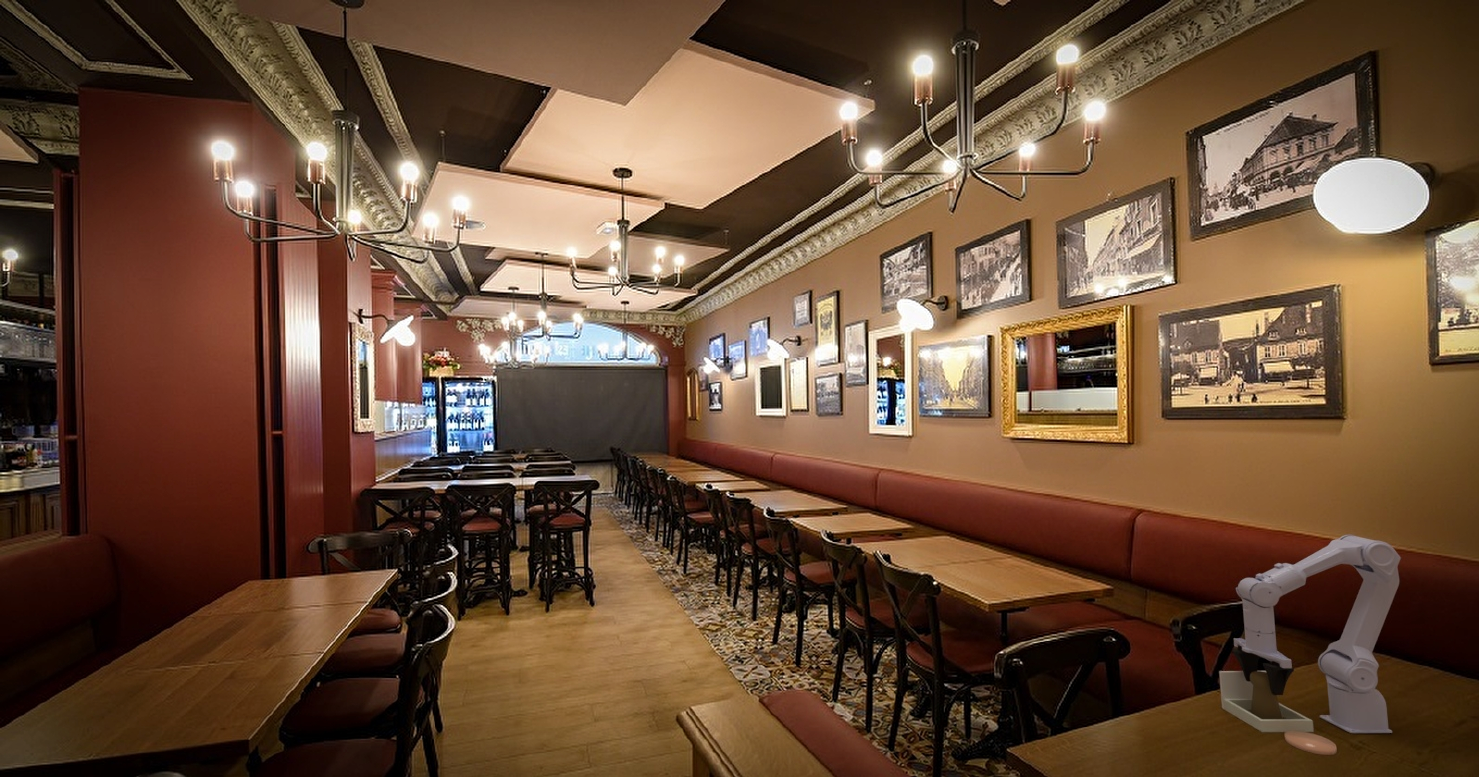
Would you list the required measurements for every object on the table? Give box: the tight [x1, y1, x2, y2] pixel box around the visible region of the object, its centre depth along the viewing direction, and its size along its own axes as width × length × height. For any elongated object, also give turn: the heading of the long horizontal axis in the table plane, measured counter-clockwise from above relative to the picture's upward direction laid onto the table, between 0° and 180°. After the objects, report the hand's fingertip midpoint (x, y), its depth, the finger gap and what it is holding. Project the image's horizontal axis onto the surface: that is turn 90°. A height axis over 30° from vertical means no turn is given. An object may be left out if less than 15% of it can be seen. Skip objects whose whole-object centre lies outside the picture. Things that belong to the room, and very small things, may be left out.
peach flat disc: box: [1284, 731, 1338, 756], centre depth 134 cm, size 8×8×1 cm
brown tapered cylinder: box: [1250, 670, 1283, 719], centre depth 146 cm, size 6×6×11 cm
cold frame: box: [1218, 670, 1315, 733], centre depth 146 cm, size 12×12×9 cm
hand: (1264, 687), depth 146 cm, fingers open, 7 cm apart
